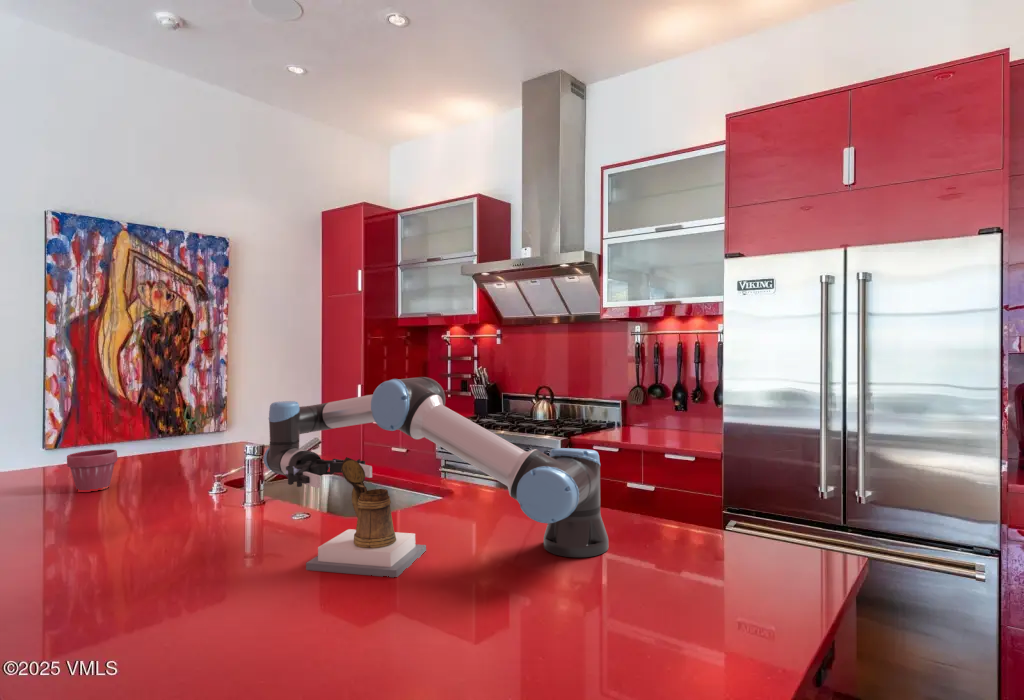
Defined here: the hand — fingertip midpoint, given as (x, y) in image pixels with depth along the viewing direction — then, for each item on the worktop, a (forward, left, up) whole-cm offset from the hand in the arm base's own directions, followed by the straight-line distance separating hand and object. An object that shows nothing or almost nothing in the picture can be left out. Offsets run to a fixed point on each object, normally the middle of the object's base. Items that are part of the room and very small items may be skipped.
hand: (345, 476), depth 139 cm
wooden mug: (-8, +4, -13) cm, 16 cm away
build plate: (-8, +4, -17) cm, 19 cm away
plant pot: (+118, -39, -18) cm, 126 cm away
